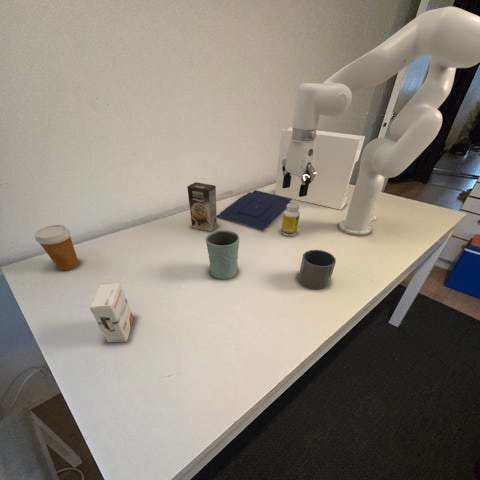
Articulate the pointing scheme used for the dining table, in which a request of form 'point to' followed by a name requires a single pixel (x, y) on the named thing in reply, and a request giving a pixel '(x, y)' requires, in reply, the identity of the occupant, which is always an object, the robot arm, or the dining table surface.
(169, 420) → the dining table surface
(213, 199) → the coffee box
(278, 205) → the folded navy cloth
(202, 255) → the dining table surface
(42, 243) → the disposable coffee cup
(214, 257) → the teal cup
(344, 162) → the block
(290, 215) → the pill bottle
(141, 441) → the dining table surface
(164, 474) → the dining table surface
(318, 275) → the steel cup
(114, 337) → the ink box
